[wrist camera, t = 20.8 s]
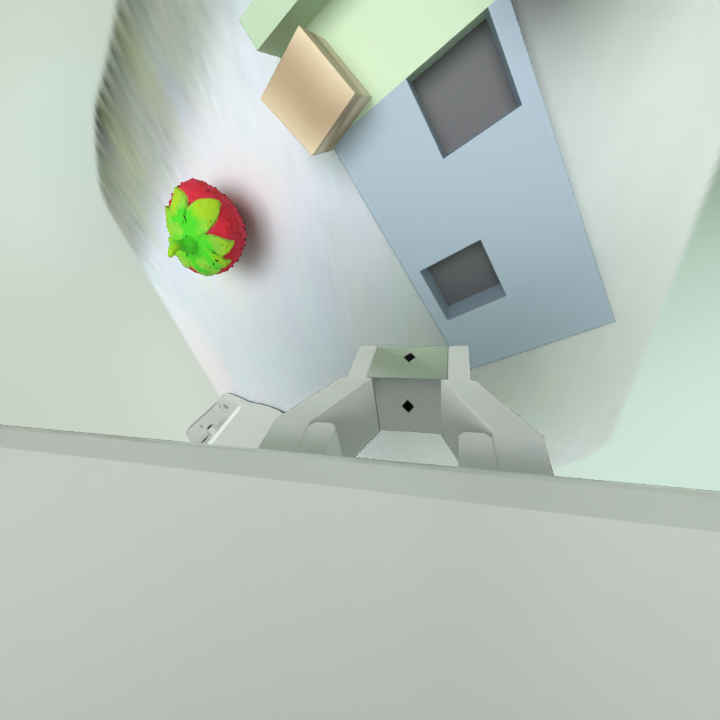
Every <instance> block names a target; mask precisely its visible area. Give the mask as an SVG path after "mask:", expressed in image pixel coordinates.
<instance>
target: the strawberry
mask: <svg viewBox="0 0 720 720" xmlns="http://www.w3.org/2000/svg"><path fill="white" fill-rule="evenodd" d="M165 210H166V222H167V228H168V231H169V233H170V236H171V237H169V238H168V241H169V243H170V246H169V249H168V256H169V257H170V258H171V257H173V256H174V255H175V256H177V257H178V259H179V260H180V262H181V263H182V264H183V265H184V266H185V267H186V268H189V269H191V270H192V271H194V272H195V273H199V274H202V275H205V276H212V275H214V274H220V273H222V272H225V271H228V270H229V268H231V267H233V265H234V263H235V262H238V261H239V257H240V256H241V254H242V250H243V248H244V246H246V244H245V241H246V236H247V234H246V233H245V231H246V230H245V229H244V226H245V225H246V224H244V223H243V220H242V219H241V218H242V217H240V215H239V213H238V210H237V207H236V206H234V205H233V204H232V202H231V201H230V199H228V197H226V194H222V193H221V192H220V191H218V190H217V188H216V187H214V188H213V187H212V186H211V185H208V184H207V183H206V182H204V181H200V180H197V179H193V178H192V179H190V180H188V181H186V182H181V185H178V187H174V193H172V199H171V200H170V201H169V206H165Z"/></svg>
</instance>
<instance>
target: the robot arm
mask: <svg viewBox="0 0 720 720" xmlns="http://www.w3.org/2000/svg"><path fill="white" fill-rule="evenodd" d="M380 430H391V431H412V432H423V433H433V434H441V435H442V437H443V439H444V440H445V442H446V443H447V445H448V446H449V448H450V449H451V451H452V452H453V454H454V455H455V457H456V458H457V460H458V467H452V466H441V465H430V464H419V463H408V462H397V461H386V460H376V459H365V458H354V457H355V456H356V455H357V454H358V453H359V452H360V451H361V450H362V449H363V448H364V447H365V446H366V445H367V444H368V443H369V442H370V441H371V440H372V439H373V438H374V437H375V436H376V435H377V434H378V433H379V432H380ZM187 435H188V437H189V439H190V441H191V442H181V441H171V440H160V439H149V438H138V437H128V436H117V435H106V434H95V433H83V432H74V431H63V430H53V429H42V428H31V427H20V426H9V425H0V720H720V491H711V490H700V489H690V488H679V487H668V486H656V485H646V484H634V483H622V482H613V481H602V480H591V479H581V478H570V477H559V476H554V474H553V470H552V467H551V464H550V460H549V457H548V453H547V450H546V446H545V443H544V439H543V436H542V435H541V434H540V433H539V432H537V431H536V430H535V429H534V428H533V427H531V426H530V425H529V424H528V423H527V422H525V421H524V420H523V419H522V418H521V417H519V416H518V415H517V414H516V413H515V412H513V411H512V410H511V409H510V408H509V407H507V406H506V405H505V404H504V403H503V402H501V401H500V400H499V399H498V398H497V397H496V396H494V395H493V394H492V393H491V392H490V391H488V390H487V389H486V388H485V387H484V386H482V385H481V384H480V383H479V382H478V381H476V380H471V377H470V363H469V349H468V346H467V345H455V346H449V348H448V346H414V347H413V346H383V345H379V346H378V345H362V346H360V347H359V350H358V352H357V354H356V357H355V359H354V361H353V364H352V366H351V368H350V371H349V373H348V375H347V377H341V378H339V379H338V380H336V381H335V382H333V383H331V384H330V385H328V386H327V387H325V388H323V389H322V390H320V391H319V392H317V393H315V394H314V395H312V396H311V397H309V398H307V399H306V400H304V401H303V402H301V403H299V404H298V405H296V406H295V407H293V408H291V409H290V410H288V411H287V412H285V413H282V412H280V411H279V410H276V409H274V408H272V407H269V406H265V405H262V404H257V403H252V402H248V401H246V400H244V399H242V398H240V397H238V396H235V395H233V394H225V395H224V396H223V397H222V398H221V399H220V400H219V401H218V402H217V403H215V404H214V405H213V406H212V407H211V408H210V409H209V410H208V411H207V412H206V413H205V414H203V415H202V416H201V417H200V418H199V419H198V420H197V421H196V422H195V423H194V424H192V425H191V426H190V427H189V429H188V430H187Z"/></svg>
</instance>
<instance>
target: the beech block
mask: <svg viewBox="0 0 720 720" xmlns="http://www.w3.org/2000/svg"><path fill="white" fill-rule="evenodd" d="M371 97H372V96H371V95H370V94H369V92H368V91H367V90H366V89H365V88H364V86H363V85H362V84H361V83H360V81H359V80H358V79H357V78H356V76H355V75H354V74H353V73H352V72H351V70H350V69H349V68H348V67H347V65H346V64H345V63H344V62H343V60H342V59H341V58H340V57H339V56H338V54H337V53H336V52H335V51H334V49H333V48H332V47H331V46H330V44H329V43H328V42H327V41H326V40H325V39H324V38H322V37H320V36H318V35H316V34H314V33H313V32H311V31H309V30H307V29H305V28H303V27H301V26H298V28H297V30H296V31H295V33H294V35H293V37H292V39H291V41H290V43H289V45H288V47H287V49H286V51H285V53H284V55H283V57H282V58H281V60H280V62H279V64H278V66H277V68H276V70H275V72H274V74H273V76H272V78H271V80H270V82H269V83H268V85H267V87H266V89H265V91H264V93H263V95H262V97H261V100H262V101H263V103H264V104H265V105H266V106H267V107H268V108H269V109H270V110H271V111H272V112H273V113H274V115H275V116H276V117H277V118H278V119H279V120H280V121H281V122H282V123H283V124H284V125H285V127H286V128H287V129H288V130H289V131H290V132H291V133H292V134H293V135H294V136H295V138H296V139H297V140H298V141H299V142H300V143H301V144H302V145H303V146H304V147H305V148H306V150H307V151H308V152H309V153H310V154H311V155H312V156H313V155H317V154H320V153H324V152H328V151H332V150H333V149H334V148H335V147H336V145H337V144H338V142H339V141H340V140H341V138H342V137H343V136H344V134H345V133H346V131H347V130H348V129H349V127H350V126H351V124H352V123H353V122H354V120H355V119H356V117H357V116H358V115H359V113H360V112H361V111H362V109H363V108H364V106H365V105H366V104H367V102H368V101H369V99H370V98H371Z"/></svg>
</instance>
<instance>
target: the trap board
mask: <svg viewBox="0 0 720 720" xmlns="http://www.w3.org/2000/svg"><path fill="white" fill-rule="evenodd" d="M239 21H240V23H241V25H242V26H243V28H244V30H245V31H246V33H247V35H248V36H249V38H250V40H251V41H252V43H253V45H254V46H255V48H256V49H257V51H260V52H264V53H267V54H270V55H274V56H277V57H280V58H282V57H283V55H284V53H285V51H286V49H287V47H288V45H289V43H290V41H291V39H292V37H293V35H294V33H295V31H296V30H297V28H298V26H301V27H303V28H305V29H307V30H309V31H311V32H313V33H314V34H316V35H318V36H320V37H322V38H324V39H325V40H326V41H327V42H328V43H329V44H330V46H331V47H332V48H333V49H334V51H335V52H336V53H337V54H338V56H339V57H340V58H341V59H342V60H343V62H344V63H345V64H346V65H347V67H348V68H349V69H350V70H351V72H352V73H353V74H354V75H355V76H356V78H357V79H358V80H359V81H360V83H361V84H362V85H363V86H364V88H365V89H366V90H367V91H368V92H369V94H370V95H371V96H372V97H371V98H370V99H369V101H368V102H367V104H366V105H365V106H364V108H363V109H362V111H361V112H360V113H359V115H358V116H357V117H356V119H355V120H354V122H353V123H352V124H351V126H350V127H349V129H348V130H347V131H346V133H345V134H344V136H343V137H342V138H341V140H340V141H339V142H338V144H337V145H336V147H335V148H334V150H335V152H336V153H337V155H338V157H339V159H340V160H341V162H342V164H343V165H344V167H345V169H346V171H347V172H348V174H349V176H350V177H351V179H352V181H353V183H354V184H355V186H356V188H357V189H358V191H359V193H360V195H361V196H362V198H363V200H364V201H365V203H366V205H367V207H368V208H369V210H370V212H371V213H372V215H373V217H374V219H375V220H376V222H377V224H378V225H379V227H380V229H381V231H382V232H383V234H384V236H385V237H386V239H387V241H388V243H389V244H390V246H391V248H392V249H393V251H394V253H395V255H396V256H397V258H398V260H399V261H400V263H401V265H402V267H403V268H404V270H405V272H406V273H407V275H408V277H409V278H410V280H411V282H412V284H413V285H414V287H415V289H416V290H417V292H418V294H419V296H420V297H421V299H422V301H423V302H424V304H425V306H426V308H427V309H428V311H429V313H430V314H431V316H432V318H433V320H434V321H435V323H436V325H437V326H438V328H439V330H440V332H441V333H442V335H443V337H444V338H445V340H446V342H447V344H448V345H449V346H455V345H467V346H468V349H469V363H470V369H472V368H475V367H478V366H481V365H484V364H488V363H491V362H494V361H497V360H500V359H503V358H506V357H509V356H512V355H515V354H518V353H521V352H524V351H527V350H530V349H533V348H536V347H539V346H542V345H546V344H549V343H552V342H555V341H558V340H561V339H564V338H567V337H570V336H573V335H576V334H579V333H582V332H585V331H588V330H591V329H594V328H597V327H601V326H604V325H607V324H610V323H613V322H615V319H614V316H613V313H612V310H611V307H610V304H609V301H608V298H607V295H606V292H605V289H604V286H603V282H602V279H601V276H600V273H599V270H598V267H597V264H596V261H595V258H594V255H593V252H592V249H591V246H590V243H589V239H588V236H587V233H586V230H585V227H584V224H583V221H582V218H581V215H580V212H579V209H578V206H577V203H576V200H575V196H574V193H573V190H572V187H571V184H570V181H569V178H568V175H567V172H566V169H565V166H564V163H563V160H562V157H561V153H560V150H559V147H558V144H557V141H556V138H555V135H554V132H553V129H552V126H551V123H550V120H549V117H548V114H547V110H546V107H545V104H544V101H543V98H542V95H541V92H540V89H539V86H538V83H537V80H536V77H535V74H534V71H533V67H532V64H531V61H530V58H529V55H528V52H527V49H526V46H525V43H524V40H523V37H522V34H521V31H520V28H519V24H518V21H517V18H516V15H515V12H514V9H513V6H512V3H511V0H253V2H252V3H251V4H250V6H249V7H248V8H247V10H246V11H245V13H244V14H243V15H242V17H241V18H240V20H239Z"/></svg>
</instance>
